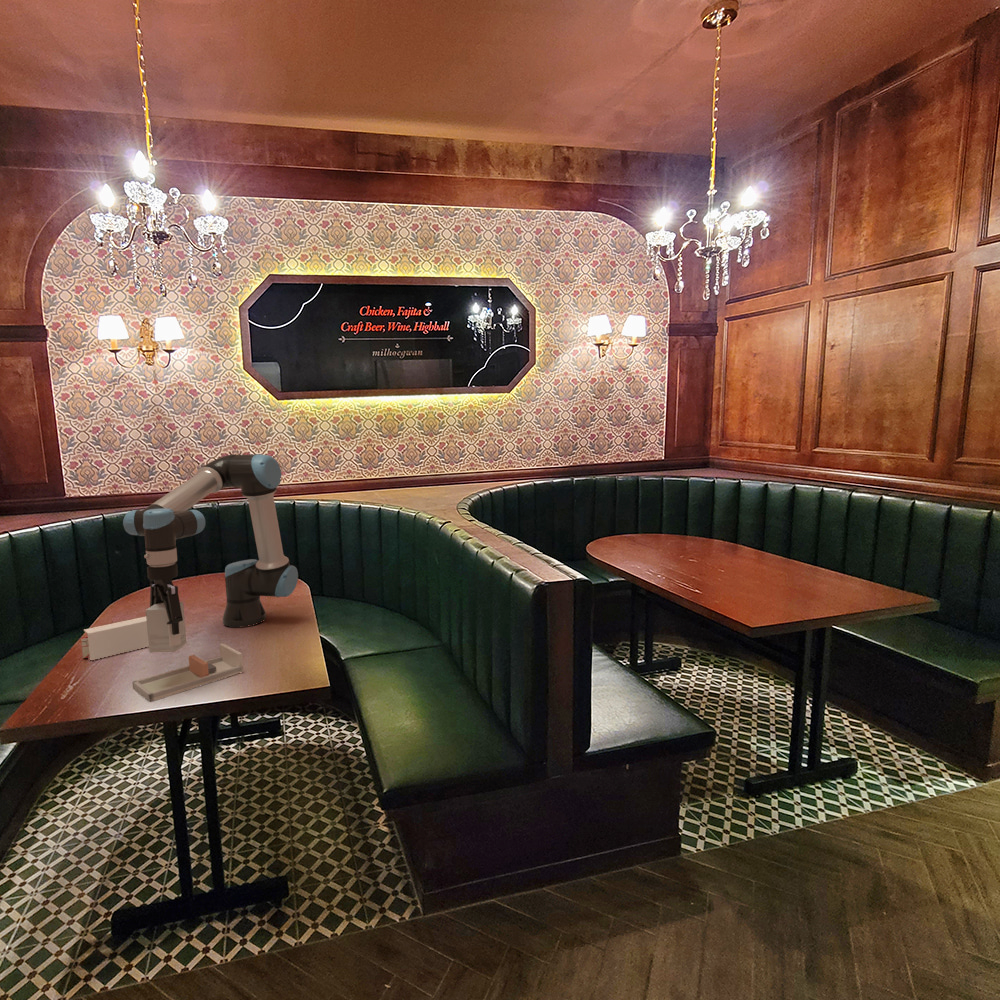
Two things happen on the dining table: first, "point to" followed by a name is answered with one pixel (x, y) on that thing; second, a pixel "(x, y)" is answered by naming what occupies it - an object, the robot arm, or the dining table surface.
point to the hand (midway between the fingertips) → (167, 640)
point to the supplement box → (162, 629)
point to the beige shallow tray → (189, 676)
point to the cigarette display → (115, 638)
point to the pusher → (200, 666)
